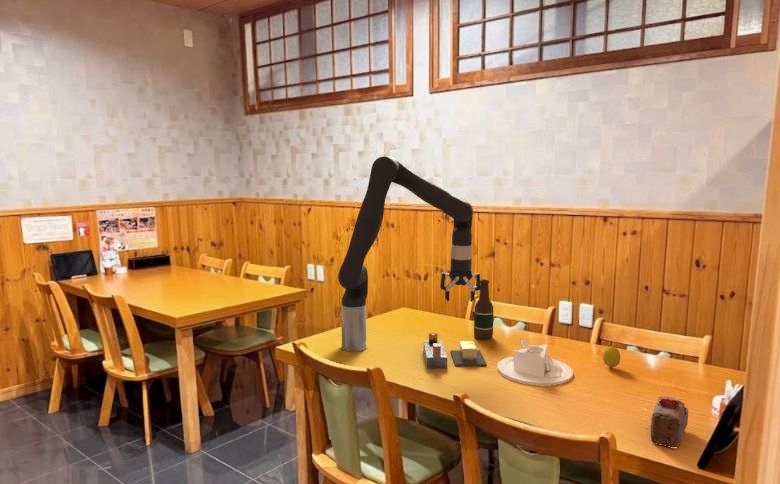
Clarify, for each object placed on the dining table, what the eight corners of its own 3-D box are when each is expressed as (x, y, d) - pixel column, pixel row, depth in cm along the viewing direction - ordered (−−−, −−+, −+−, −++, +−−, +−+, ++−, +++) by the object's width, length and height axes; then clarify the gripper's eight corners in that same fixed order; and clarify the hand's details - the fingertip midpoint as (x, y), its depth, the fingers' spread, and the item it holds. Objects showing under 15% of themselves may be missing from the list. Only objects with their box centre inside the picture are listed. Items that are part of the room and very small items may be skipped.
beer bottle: (494, 340, 210) (495, 282, 206) (475, 340, 210) (476, 282, 206) (491, 334, 217) (492, 278, 214) (472, 334, 217) (473, 278, 214)
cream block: (462, 360, 185) (462, 348, 185) (459, 353, 193) (459, 341, 192) (476, 360, 185) (476, 348, 185) (473, 353, 193) (473, 341, 192)
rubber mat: (455, 366, 182) (455, 364, 182) (450, 352, 196) (450, 350, 196) (486, 366, 182) (486, 363, 182) (479, 352, 196) (479, 350, 196)
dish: (552, 393, 161) (554, 358, 159) (483, 372, 177) (484, 340, 176) (584, 371, 178) (586, 339, 177) (519, 353, 195) (519, 324, 194)
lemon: (619, 366, 181) (621, 344, 180) (619, 372, 176) (620, 349, 175) (602, 364, 183) (603, 342, 182) (601, 369, 178) (603, 347, 177)
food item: (654, 421, 142) (656, 387, 141) (687, 429, 138) (690, 393, 136) (647, 443, 131) (650, 406, 129) (684, 452, 126) (687, 414, 125)
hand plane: (447, 368, 180) (447, 346, 179) (426, 368, 180) (427, 346, 179) (441, 350, 198) (442, 330, 197) (423, 350, 198) (423, 330, 197)
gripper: (442, 258, 184) (441, 303, 186) (482, 259, 184) (481, 304, 186) (440, 255, 191) (439, 298, 193) (479, 255, 191) (477, 298, 193)
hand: (459, 301), depth 190 cm, fingers open, 8 cm apart
